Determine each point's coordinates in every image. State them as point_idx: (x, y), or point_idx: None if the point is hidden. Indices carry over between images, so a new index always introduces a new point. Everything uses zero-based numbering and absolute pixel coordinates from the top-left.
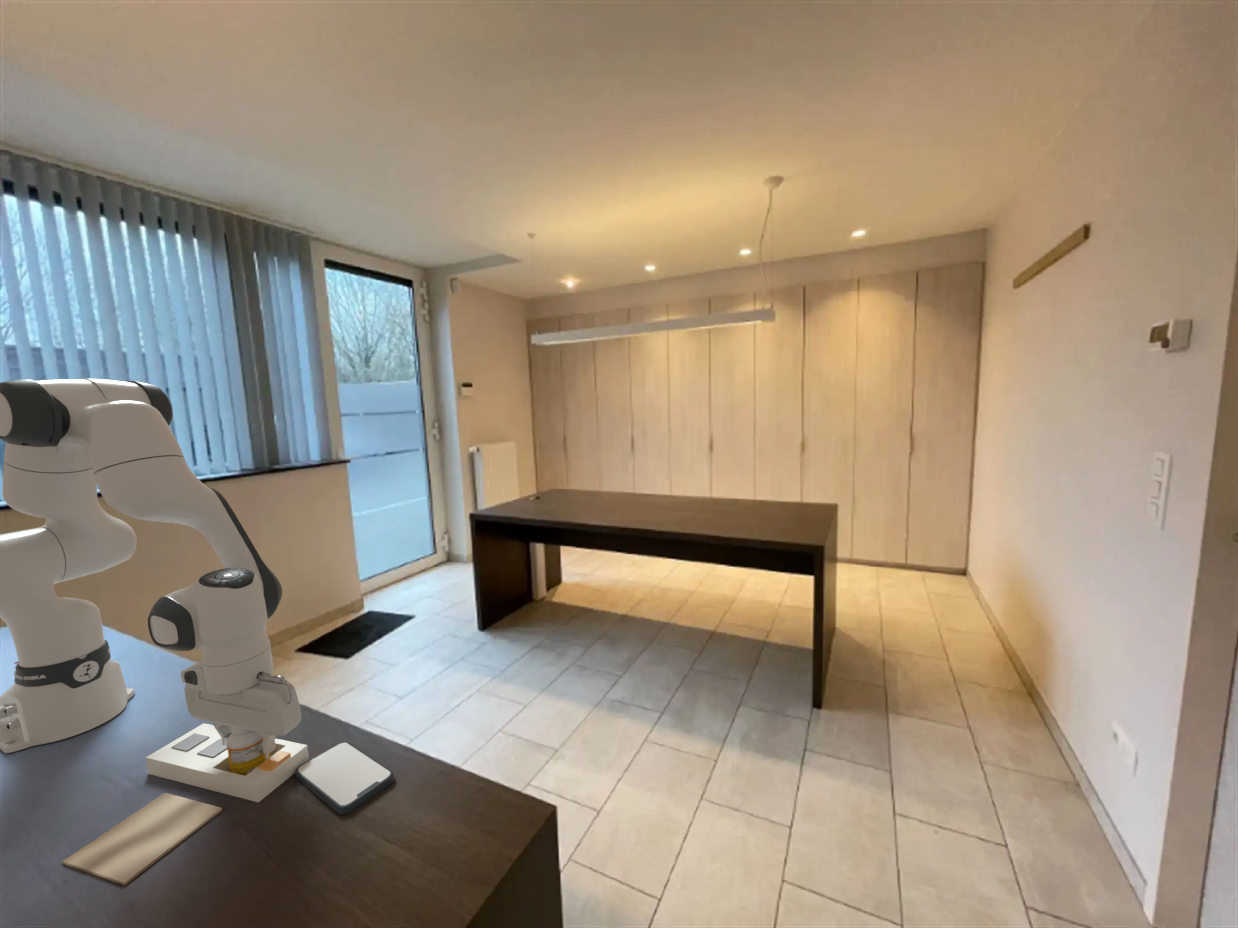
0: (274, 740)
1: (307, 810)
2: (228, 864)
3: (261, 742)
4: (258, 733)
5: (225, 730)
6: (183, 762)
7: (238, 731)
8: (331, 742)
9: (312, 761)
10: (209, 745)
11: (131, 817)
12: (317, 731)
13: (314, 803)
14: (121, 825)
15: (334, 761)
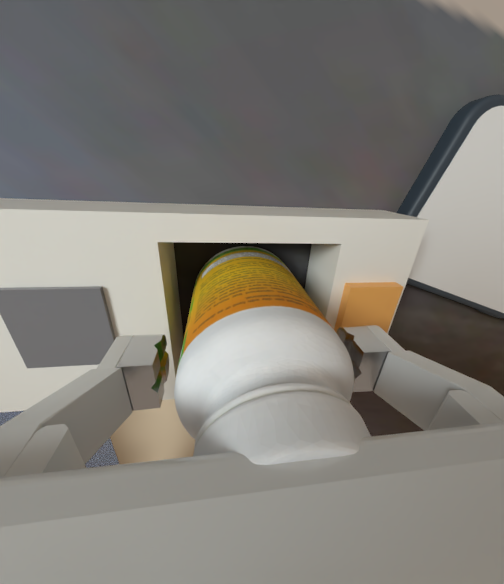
0: (397, 345)
1: (460, 334)
2: (386, 425)
3: (357, 379)
4: (346, 398)
5: (105, 418)
6: (43, 397)
7: None
8: (410, 91)
9: None
10: (11, 330)
11: (122, 444)
12: (300, 15)
13: (467, 319)
14: (128, 454)
15: (492, 214)
